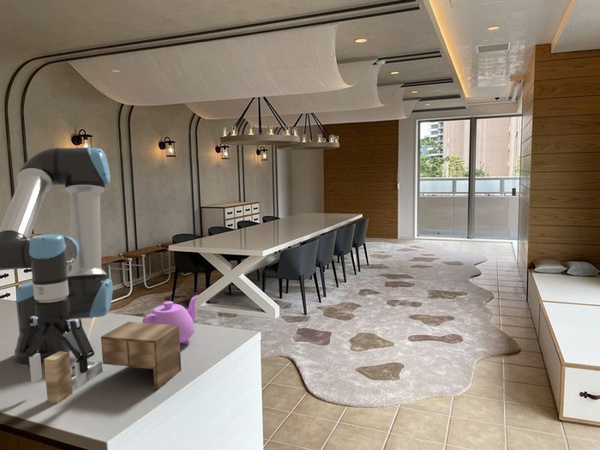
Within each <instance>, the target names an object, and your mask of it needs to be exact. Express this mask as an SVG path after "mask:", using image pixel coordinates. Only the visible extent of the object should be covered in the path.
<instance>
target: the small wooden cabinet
mask: <svg viewBox="0 0 600 450" xmlns="http://www.w3.org/2000/svg"><path fill="white" fill-rule="evenodd" d="M100 343H101V354H102V355H101V356H102V357H101V358H102V365H109V366H119V367H120V366H121V367H128V368H136V369H147V370H153V385H154V387H153V388H154V390H158V391H159V390H160V389H161V388H162V387H164V386H165V385H166V384H167V383H168V382H169V381H170V380H171V379H173V378H174V377H175V376H176V375H177V374H178V373H180V371H182V362H181V359H182V357H181V343H180V337H179V325H167V324H152V323H142V322H137V321H135V322H133V321H127V322H126V323H124V324H122V325H120V326H118V327H116V328H114V329H112V330H110V331H107V333H105V334H103V335H101V336H100Z"/></svg>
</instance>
